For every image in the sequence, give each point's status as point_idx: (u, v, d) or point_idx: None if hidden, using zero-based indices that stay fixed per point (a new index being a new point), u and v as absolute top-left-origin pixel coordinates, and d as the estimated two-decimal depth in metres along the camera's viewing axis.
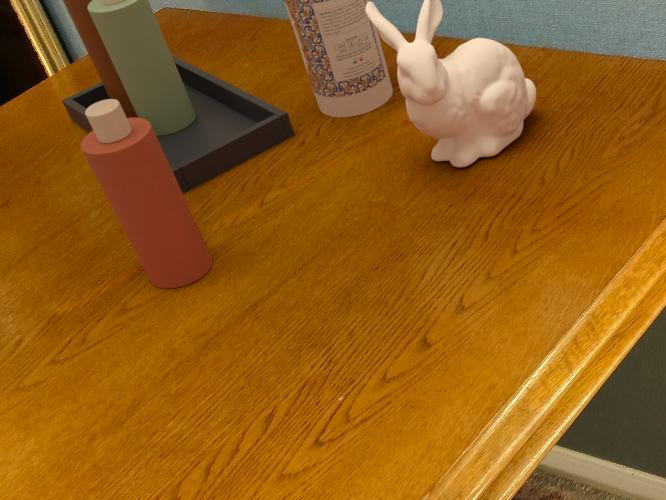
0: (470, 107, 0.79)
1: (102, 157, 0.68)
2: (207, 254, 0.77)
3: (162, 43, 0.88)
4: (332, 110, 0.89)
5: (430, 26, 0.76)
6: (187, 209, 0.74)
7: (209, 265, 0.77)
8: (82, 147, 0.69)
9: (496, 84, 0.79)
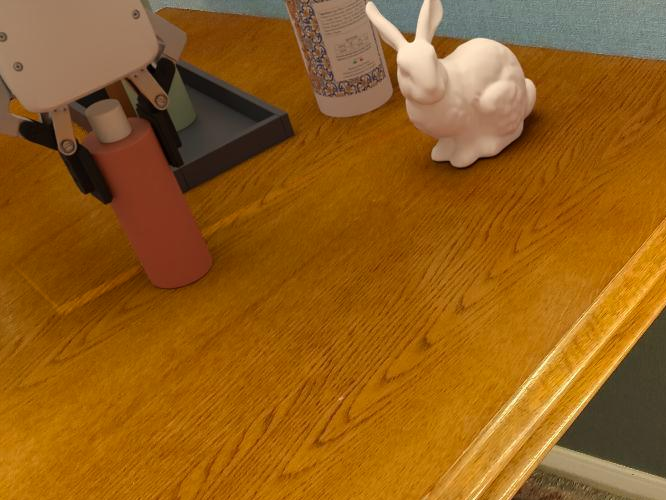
0: (470, 107, 0.79)
1: (102, 157, 0.68)
2: (207, 254, 0.77)
3: None
4: (332, 109, 0.89)
5: (430, 26, 0.76)
6: (187, 209, 0.74)
7: (209, 265, 0.77)
8: None
9: (496, 84, 0.79)
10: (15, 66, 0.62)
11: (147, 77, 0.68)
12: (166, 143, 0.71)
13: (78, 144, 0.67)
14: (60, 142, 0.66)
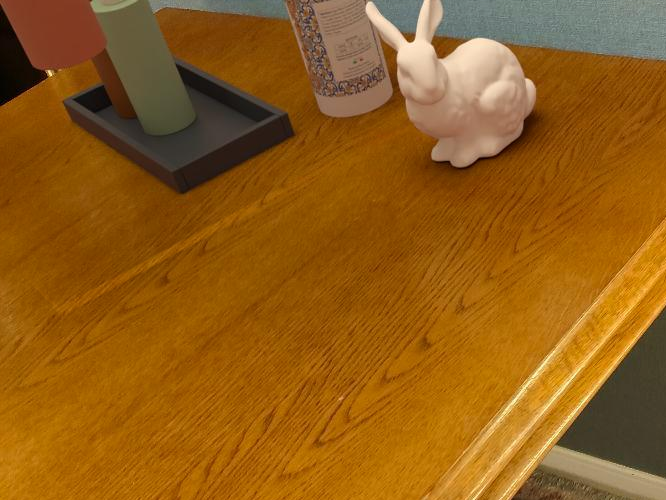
0: (470, 107, 0.79)
1: None
2: (100, 32, 0.65)
3: (162, 43, 0.88)
4: (332, 109, 0.89)
5: (430, 26, 0.76)
6: None
7: (102, 46, 0.65)
8: None
9: (496, 84, 0.79)
10: None
11: None
12: None
13: None
14: None
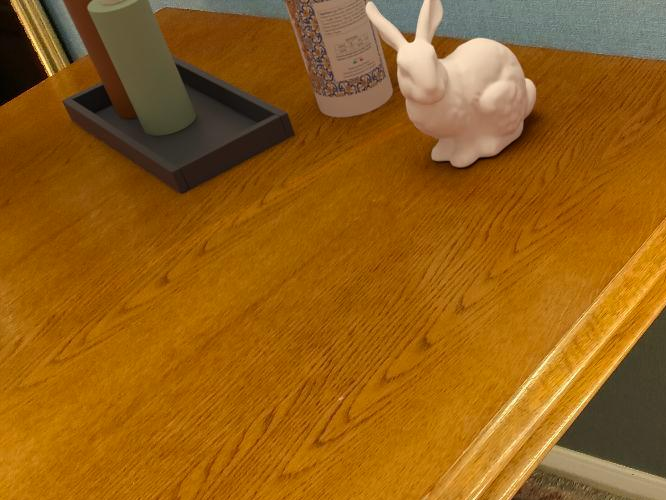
0: (470, 107, 0.79)
1: None
2: None
3: (162, 43, 0.88)
4: (332, 109, 0.89)
5: (430, 26, 0.76)
6: None
7: None
8: None
9: (496, 84, 0.79)
10: None
11: None
12: None
13: None
14: None
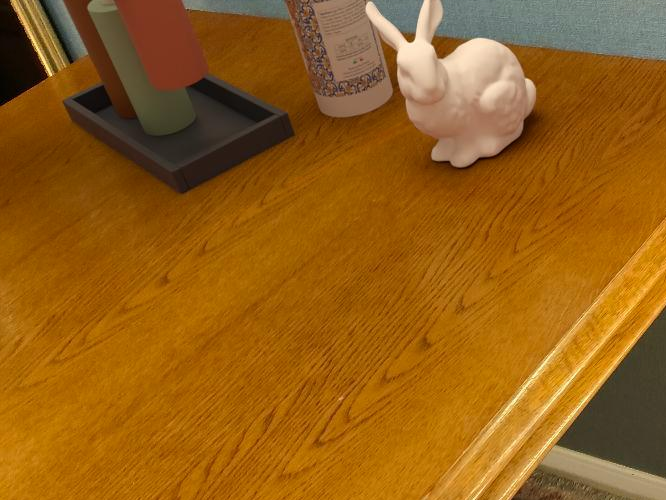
0: (470, 107, 0.79)
1: None
2: (204, 60, 0.84)
3: None
4: (332, 109, 0.89)
5: (430, 26, 0.76)
6: (185, 13, 0.81)
7: (206, 71, 0.84)
8: None
9: (496, 84, 0.79)
10: None
11: None
12: None
13: None
14: None
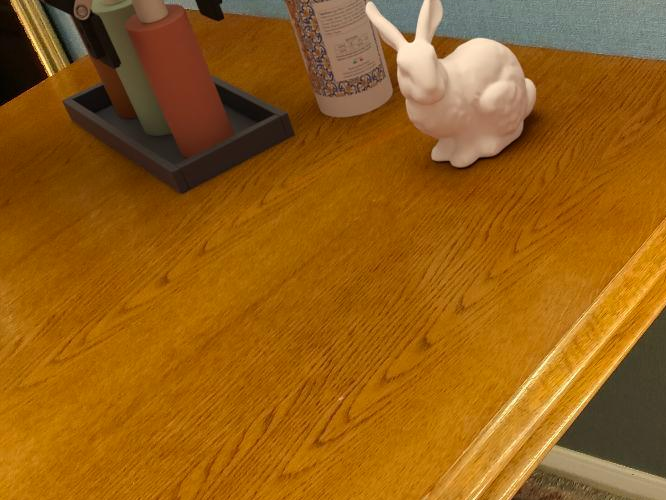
0: (470, 107, 0.79)
1: (143, 34, 0.80)
2: (231, 130, 0.89)
3: None
4: (332, 109, 0.89)
5: (430, 26, 0.76)
6: (214, 87, 0.86)
7: None
8: (126, 27, 0.81)
9: (496, 84, 0.79)
10: None
11: None
12: None
13: (91, 11, 0.77)
14: (75, 7, 0.76)
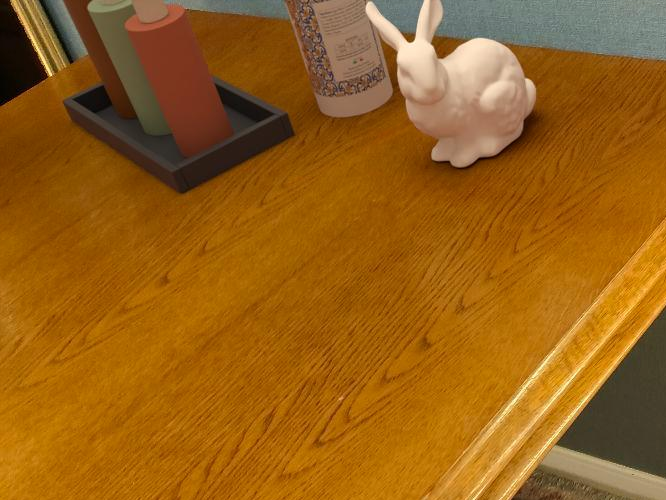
0: (470, 107, 0.79)
1: (143, 34, 0.80)
2: (231, 130, 0.89)
3: None
4: (332, 110, 0.89)
5: (430, 26, 0.76)
6: (214, 87, 0.86)
7: None
8: (126, 27, 0.81)
9: (496, 84, 0.79)
10: None
11: None
12: None
13: None
14: None
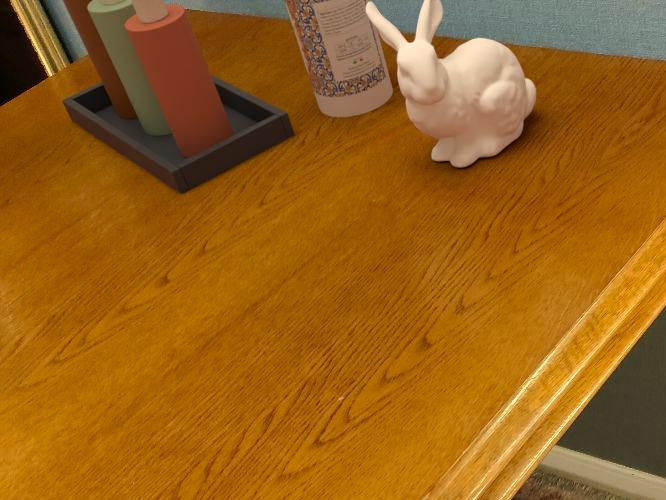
0: (470, 107, 0.79)
1: (143, 34, 0.80)
2: (231, 130, 0.89)
3: None
4: (332, 109, 0.89)
5: (430, 26, 0.76)
6: (214, 87, 0.86)
7: None
8: (126, 27, 0.81)
9: (496, 84, 0.79)
10: None
11: None
12: None
13: None
14: None
